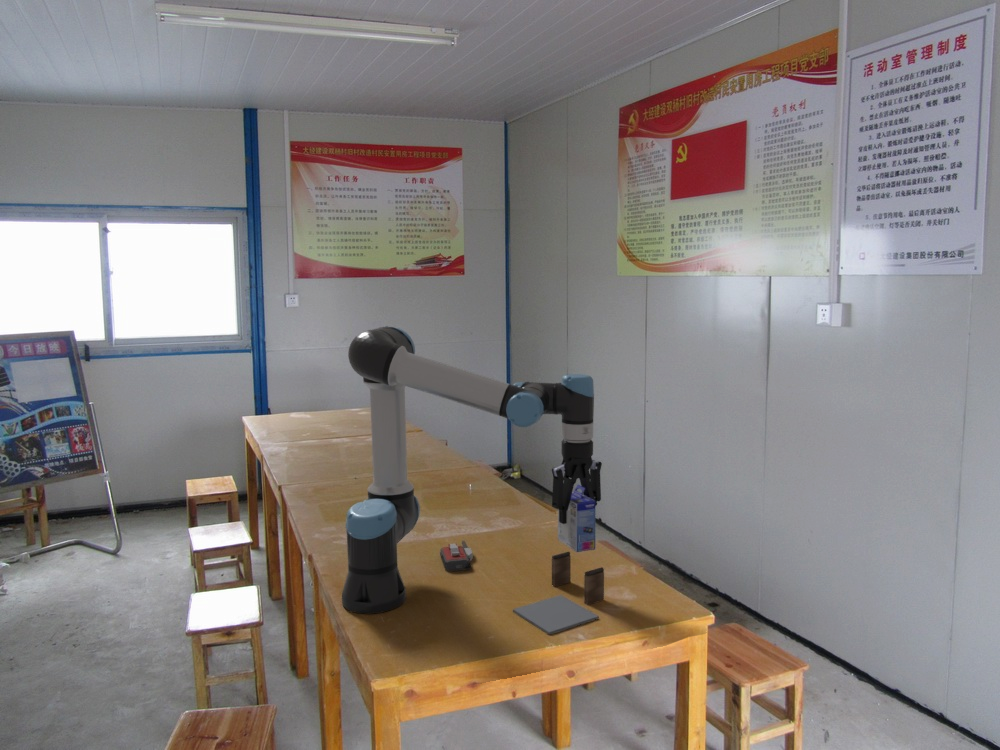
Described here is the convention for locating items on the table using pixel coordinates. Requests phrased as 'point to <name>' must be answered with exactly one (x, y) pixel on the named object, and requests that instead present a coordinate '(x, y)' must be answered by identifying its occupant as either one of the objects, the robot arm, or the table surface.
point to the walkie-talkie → (456, 557)
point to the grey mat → (555, 614)
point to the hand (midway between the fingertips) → (576, 533)
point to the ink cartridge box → (580, 522)
